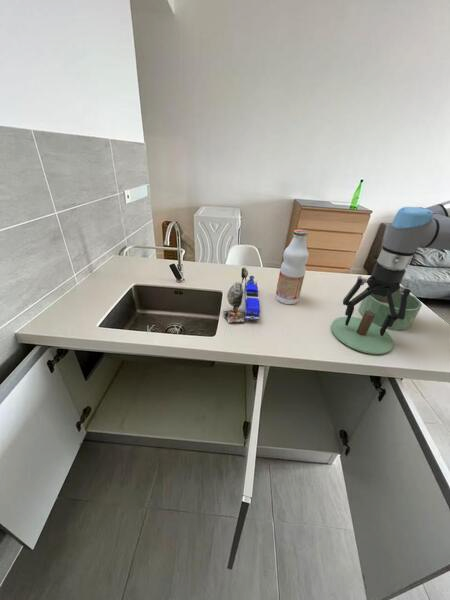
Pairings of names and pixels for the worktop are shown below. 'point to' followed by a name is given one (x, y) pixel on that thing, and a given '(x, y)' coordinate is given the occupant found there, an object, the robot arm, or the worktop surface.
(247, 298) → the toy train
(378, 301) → the tin
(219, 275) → the worktop surface
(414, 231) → the robot arm
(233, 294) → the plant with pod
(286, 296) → the fruit juice
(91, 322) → the worktop surface
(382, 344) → the tin lid
